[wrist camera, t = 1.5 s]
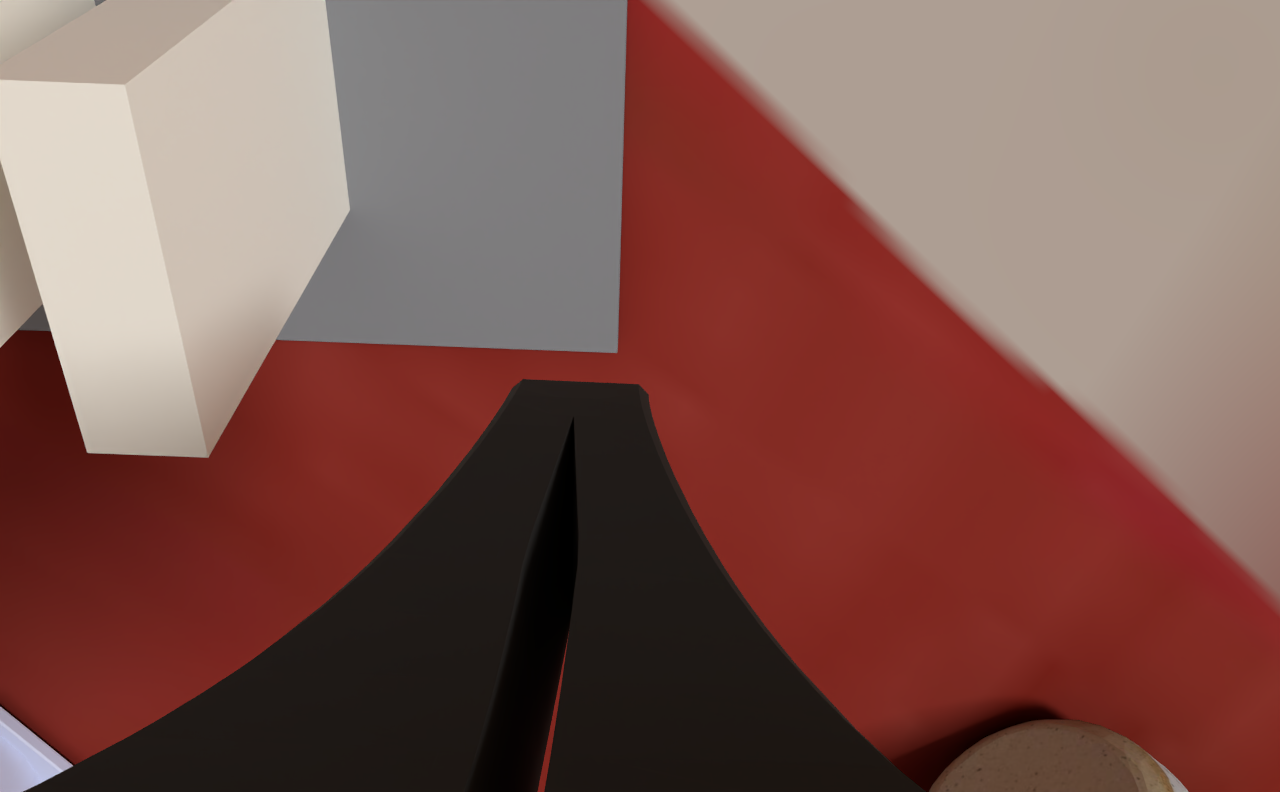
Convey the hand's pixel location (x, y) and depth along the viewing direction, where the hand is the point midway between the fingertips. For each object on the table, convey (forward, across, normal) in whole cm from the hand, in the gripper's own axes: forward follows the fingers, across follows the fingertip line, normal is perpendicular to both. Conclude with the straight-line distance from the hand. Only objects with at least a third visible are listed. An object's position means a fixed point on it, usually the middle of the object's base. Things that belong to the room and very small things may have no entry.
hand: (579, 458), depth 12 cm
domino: (+10, +6, -1) cm, 12 cm away
